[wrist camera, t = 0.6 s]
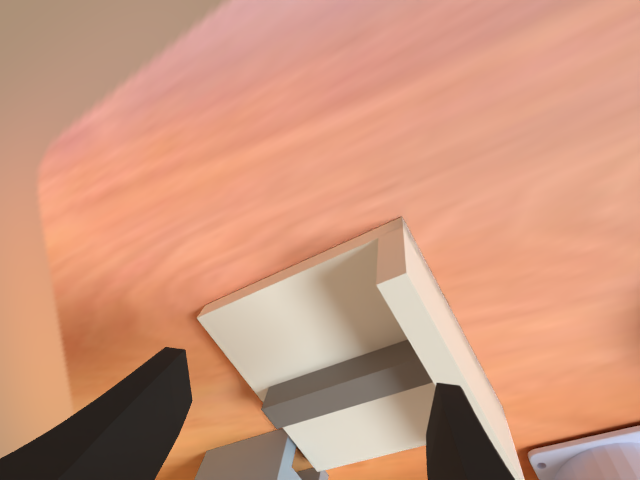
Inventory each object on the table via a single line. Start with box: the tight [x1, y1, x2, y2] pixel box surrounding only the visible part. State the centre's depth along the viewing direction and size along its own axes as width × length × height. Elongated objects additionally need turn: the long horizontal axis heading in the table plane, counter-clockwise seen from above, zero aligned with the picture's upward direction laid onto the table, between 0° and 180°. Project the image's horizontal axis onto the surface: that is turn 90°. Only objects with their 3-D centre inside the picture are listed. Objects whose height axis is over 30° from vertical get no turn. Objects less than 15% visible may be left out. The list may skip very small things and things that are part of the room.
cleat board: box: [197, 217, 525, 480], centre depth 21 cm, size 13×12×5 cm
